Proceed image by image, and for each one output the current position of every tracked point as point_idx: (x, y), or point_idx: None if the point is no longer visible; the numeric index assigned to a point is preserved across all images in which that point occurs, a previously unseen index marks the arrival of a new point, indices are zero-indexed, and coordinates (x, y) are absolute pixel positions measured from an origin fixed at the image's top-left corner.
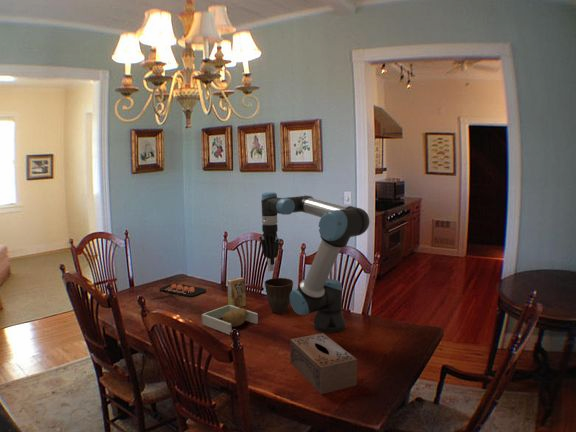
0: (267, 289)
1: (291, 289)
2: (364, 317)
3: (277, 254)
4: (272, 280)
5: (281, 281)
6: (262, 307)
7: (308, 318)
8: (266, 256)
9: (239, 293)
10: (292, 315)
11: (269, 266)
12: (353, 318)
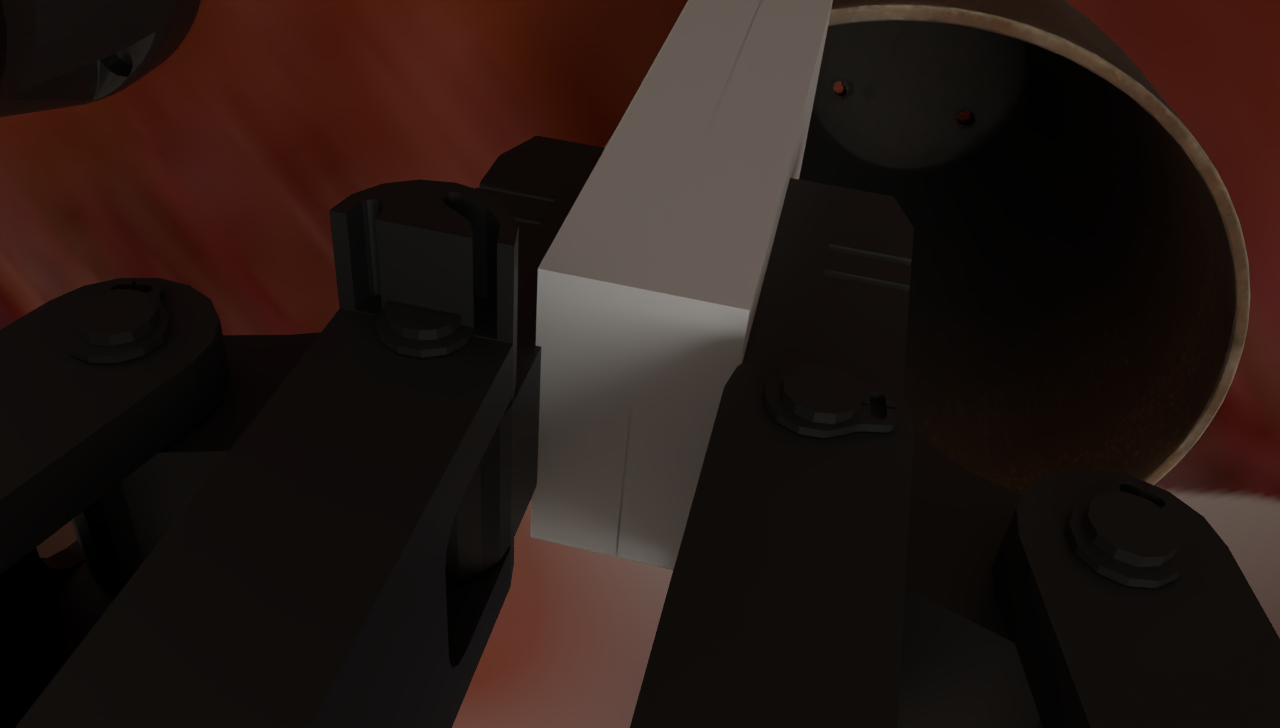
0: (1045, 6)
1: None
2: (17, 318)
3: (4, 607)
4: (1146, 442)
5: None
6: (1274, 84)
7: (401, 22)
8: (854, 407)
9: None
10: (643, 12)
11: (693, 56)
12: (60, 254)
